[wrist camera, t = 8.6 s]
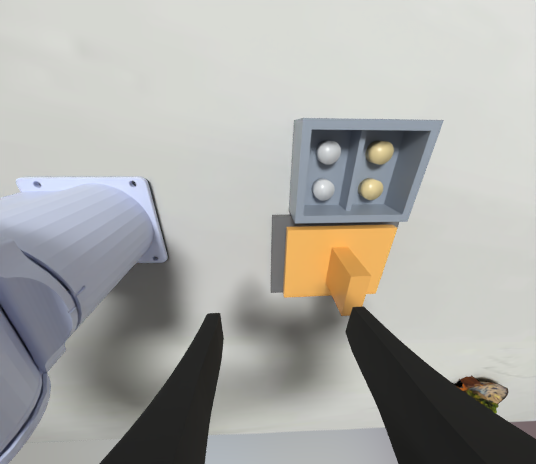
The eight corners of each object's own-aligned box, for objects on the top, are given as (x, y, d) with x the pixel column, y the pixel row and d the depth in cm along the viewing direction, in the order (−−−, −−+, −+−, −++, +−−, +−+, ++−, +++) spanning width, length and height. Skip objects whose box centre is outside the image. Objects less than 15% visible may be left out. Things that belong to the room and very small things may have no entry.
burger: (485, 401, 39) (533, 456, 32) (425, 411, 39) (460, 467, 33) (508, 367, 34) (570, 425, 27) (437, 378, 34) (482, 439, 27)
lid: (282, 287, 21) (290, 333, 17) (285, 223, 18) (296, 257, 13) (368, 283, 22) (400, 327, 17) (387, 220, 19) (434, 253, 14)
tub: (288, 209, 18) (294, 223, 15) (294, 120, 15) (303, 118, 12) (385, 208, 18) (407, 221, 16) (410, 122, 15) (443, 120, 13)
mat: (270, 290, 22) (270, 292, 22) (272, 214, 18) (272, 216, 18) (374, 286, 23) (376, 288, 22) (398, 213, 19) (401, 214, 18)
